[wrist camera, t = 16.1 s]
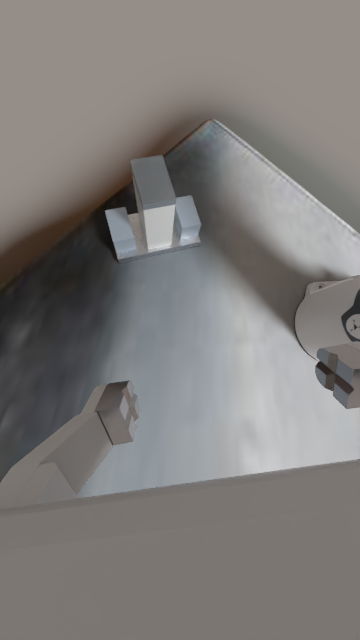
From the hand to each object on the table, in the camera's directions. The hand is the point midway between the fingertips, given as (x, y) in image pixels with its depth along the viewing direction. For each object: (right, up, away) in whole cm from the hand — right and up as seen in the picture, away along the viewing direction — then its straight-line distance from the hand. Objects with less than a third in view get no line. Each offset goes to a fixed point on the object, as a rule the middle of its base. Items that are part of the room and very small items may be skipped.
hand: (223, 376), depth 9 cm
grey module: (-7, +20, +28) cm, 35 cm away
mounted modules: (-7, +20, +28) cm, 35 cm away
